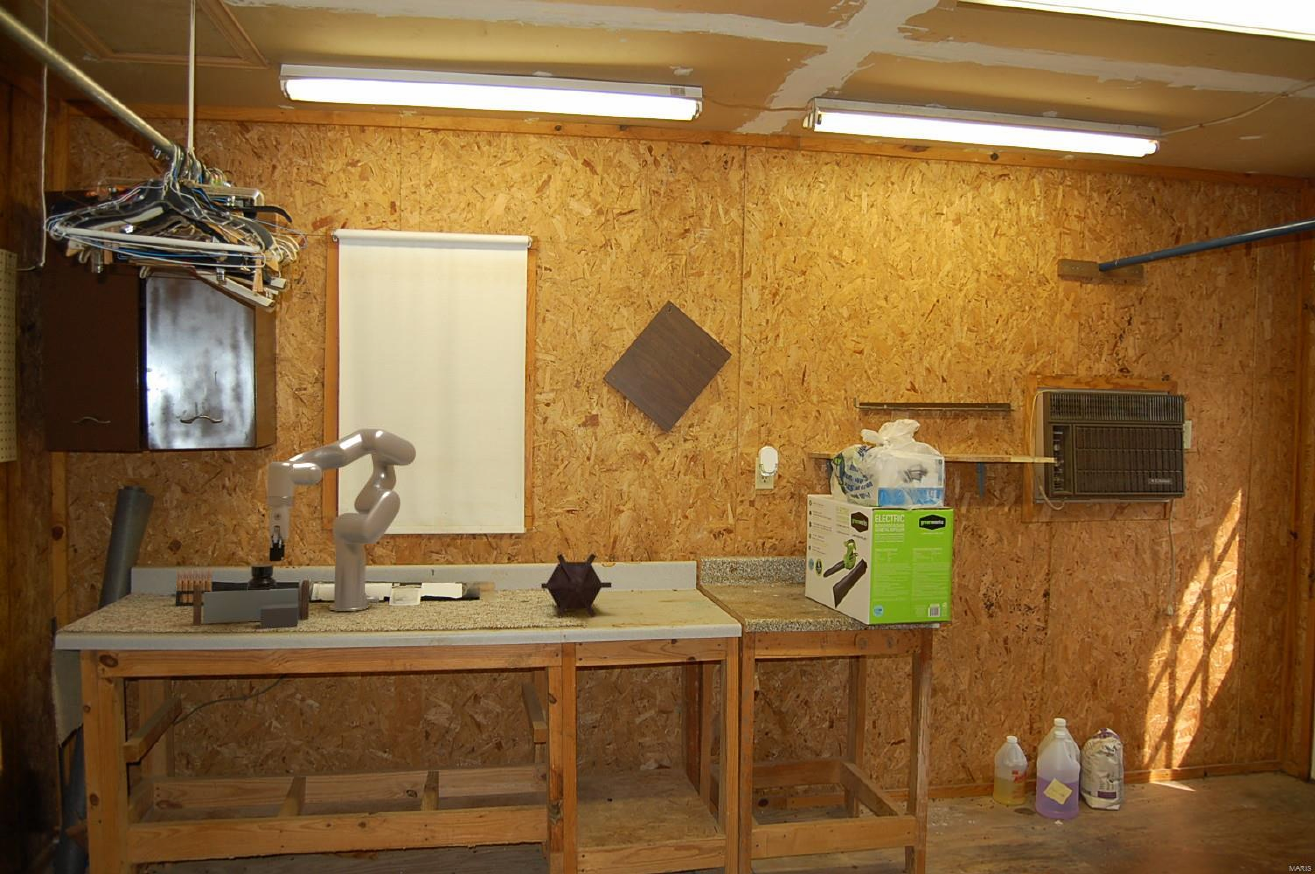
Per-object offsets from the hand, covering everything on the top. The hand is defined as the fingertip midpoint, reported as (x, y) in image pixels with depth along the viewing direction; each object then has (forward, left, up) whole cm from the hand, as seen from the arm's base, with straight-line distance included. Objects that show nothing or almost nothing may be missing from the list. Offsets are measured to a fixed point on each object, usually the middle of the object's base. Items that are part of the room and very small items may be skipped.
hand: (276, 559), depth 253 cm
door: (+7, -5, -19) cm, 21 cm away
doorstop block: (-1, +2, -20) cm, 20 cm away
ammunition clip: (+27, -36, -20) cm, 49 cm away
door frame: (+7, -5, -20) cm, 21 cm away
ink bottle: (+7, -40, -20) cm, 45 cm away
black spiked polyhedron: (-91, +7, -20) cm, 94 cm away
